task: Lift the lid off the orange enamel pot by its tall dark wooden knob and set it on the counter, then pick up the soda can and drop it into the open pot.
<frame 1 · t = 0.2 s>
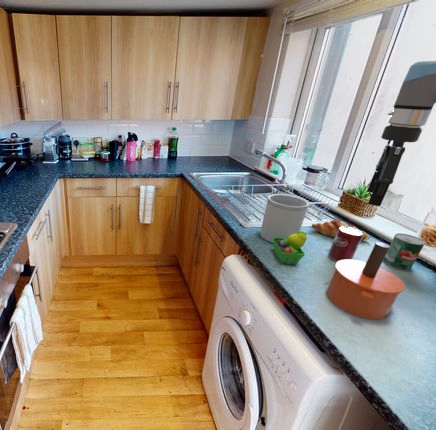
hand: (372, 198, 87), 29 cm above the worktop, tool pointing down, fingers open, 13 cm apart
canned tomato: (396, 264, 106), on the worktop
croissant: (338, 236, 125), on the worktop
fruit basket: (286, 257, 109), on the worktop
lid: (367, 276, 83), point 9 cm above the worktop, touching pot
utensil holder: (276, 237, 123), on the worktop
soda can: (338, 259, 108), on the worktop
pot: (355, 301, 87), on the worktop
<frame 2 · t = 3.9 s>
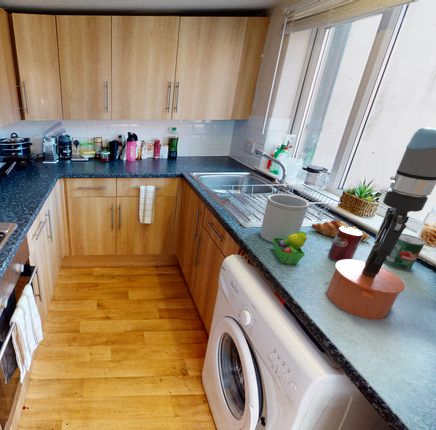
hand: (371, 268, 82), 12 cm above the worktop, tool pointing down, fingers closed on lid, 3 cm apart
lid: (367, 276, 83), point 9 cm above the worktop, touching gripper, pot
everything else where it was.
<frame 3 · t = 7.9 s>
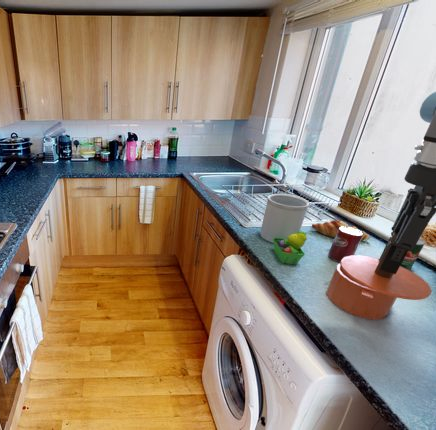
hand: (386, 267, 64), 23 cm above the worktop, tool pointing down, fingers closed on lid, 3 cm apart
lid: (381, 276, 65), point 20 cm above the worktop, touching gripper
everything else where it was.
when the fingers open (3 cm above the worktop, at t = 12.2 s): lid stays where it is, point 1 cm above the worktop.
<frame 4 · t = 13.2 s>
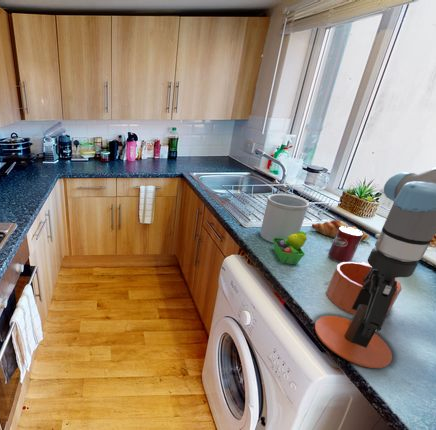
hand: (358, 326, 71), 6 cm above the worktop, tool pointing down, fingers open, 13 cm apart
lid: (350, 340, 73), point 1 cm above the worktop
everything else where it was.
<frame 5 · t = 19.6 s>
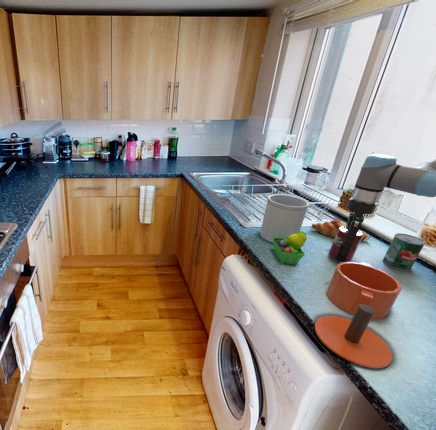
hand: (340, 256, 108), 1 cm above the worktop, tool pointing down, fingers closed on soda can, 7 cm apart
soda can: (338, 259, 108), on the worktop, touching gripper
everything else where it was.
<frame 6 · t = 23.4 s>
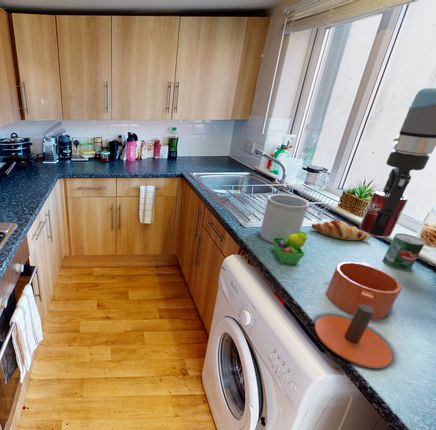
hand: (375, 229, 85), 21 cm above the worktop, tool pointing down, fingers closed on soda can, 7 cm apart
soda can: (373, 233, 85), point 20 cm above the worktop, touching gripper
everything else where it was.
when the fingers open (9 cm above the worktop, at t = 27.7 s): soda can drops 7 cm, resting on pot.
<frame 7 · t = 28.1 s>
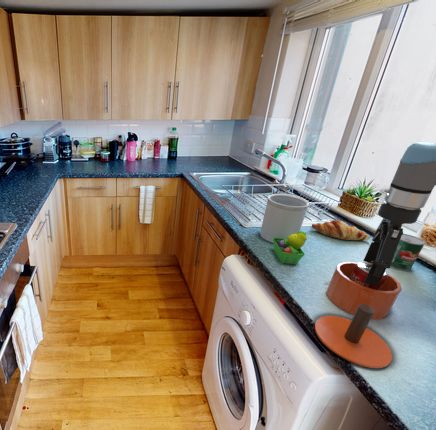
hand: (369, 272, 82), 11 cm above the worktop, tool pointing down, fingers open, 13 cm apart
soda can: (356, 301, 86), resting on pot
everything else where it was.
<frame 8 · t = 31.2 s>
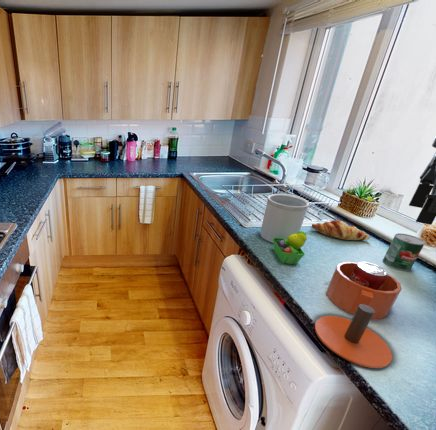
hand: (419, 214, 76), 29 cm above the worktop, tool pointing down, fingers open, 13 cm apart
nothing on the worktop moved.
at the end: lid inside the target area (0.1 cm from its centre), point 0.6 cm above the worktop; soda can inside the target area in the pot (0.5 cm from its centre), point 0.3 cm above the pot's base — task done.
